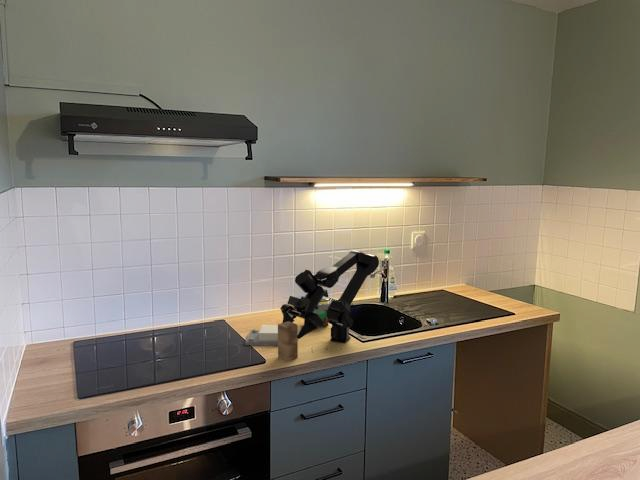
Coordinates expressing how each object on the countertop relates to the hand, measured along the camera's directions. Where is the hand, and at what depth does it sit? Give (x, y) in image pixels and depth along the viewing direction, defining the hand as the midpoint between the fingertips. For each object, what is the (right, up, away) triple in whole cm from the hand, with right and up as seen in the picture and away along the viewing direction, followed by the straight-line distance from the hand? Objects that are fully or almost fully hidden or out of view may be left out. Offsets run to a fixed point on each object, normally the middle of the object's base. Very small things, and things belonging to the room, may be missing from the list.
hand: (289, 335), depth 179 cm
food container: (+9, -3, +36) cm, 38 cm away
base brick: (-8, -5, +20) cm, 22 cm away
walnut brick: (-1, -8, +1) cm, 8 cm away
